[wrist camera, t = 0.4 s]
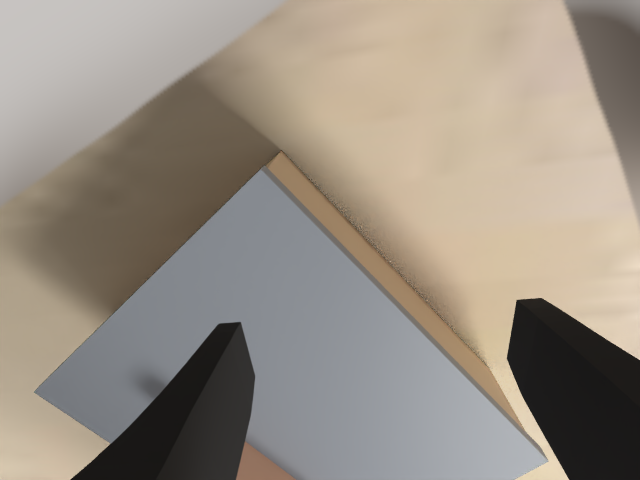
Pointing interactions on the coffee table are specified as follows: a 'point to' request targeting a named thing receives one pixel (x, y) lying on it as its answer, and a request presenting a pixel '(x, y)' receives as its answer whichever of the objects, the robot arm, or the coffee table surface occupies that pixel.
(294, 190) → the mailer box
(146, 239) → the coffee table surface
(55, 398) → the lid
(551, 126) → the coffee table surface
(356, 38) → the coffee table surface
